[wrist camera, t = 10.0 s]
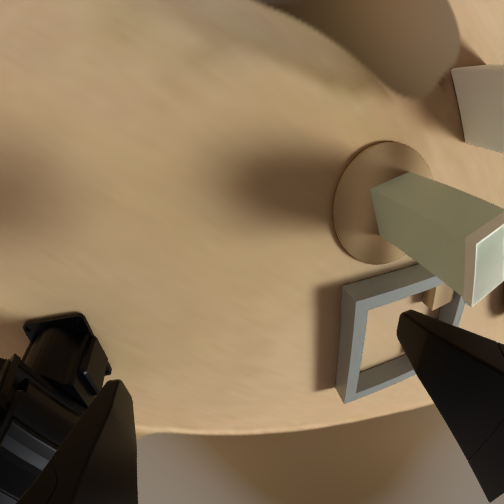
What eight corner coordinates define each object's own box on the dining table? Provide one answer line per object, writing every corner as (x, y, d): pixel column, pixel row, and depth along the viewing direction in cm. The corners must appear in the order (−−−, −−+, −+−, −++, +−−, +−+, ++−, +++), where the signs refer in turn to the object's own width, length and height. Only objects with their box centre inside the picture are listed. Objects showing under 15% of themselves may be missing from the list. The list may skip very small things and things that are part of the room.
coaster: (333, 274, 24) (335, 276, 23) (328, 145, 19) (331, 146, 19) (427, 249, 25) (429, 251, 25) (433, 140, 21) (436, 141, 20)
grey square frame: (335, 387, 30) (344, 403, 28) (341, 285, 24) (356, 301, 22) (435, 346, 32) (446, 358, 30) (459, 251, 26) (475, 261, 24)
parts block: (420, 300, 28) (432, 310, 26) (424, 276, 27) (436, 285, 25) (440, 291, 28) (452, 300, 27) (444, 267, 27) (456, 276, 25)
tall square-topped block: (378, 236, 23) (471, 307, 13) (368, 188, 21) (476, 244, 12) (417, 216, 23) (511, 273, 14) (409, 170, 21) (517, 212, 12)
